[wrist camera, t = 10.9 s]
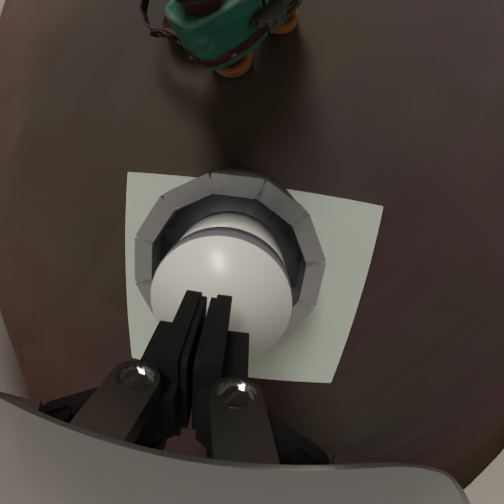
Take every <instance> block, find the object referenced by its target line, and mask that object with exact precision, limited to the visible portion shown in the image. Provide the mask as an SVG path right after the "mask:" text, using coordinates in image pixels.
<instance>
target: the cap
mask: <svg viewBox="0 0 504 504" xmlns="http://www.w3.org/2000/svg"><path fill="white" fill-rule="evenodd" d="M187 290H191V291H198V292H202V296H206V297H207V307H206V315H207V311H208V307H209V304H210V300H211V297H213V298H217V295H218V294H220V295H227V296H232V304H231V313H230V321H229V331H237V332H245V333H249V359H250V358H253V357H255V356H257V355H259V354H261V353H263V352H265V351H266V350H268V349H269V348H270V347H272V346H273V345H274V344H275V343H276V342H277V341H278V340H279V339H280V337H281V336H282V335H283V333H284V332H285V330H286V328H287V326H288V324H289V320H290V317H291V314H292V307H293V295H292V289H291V284H290V280H289V276H288V273H287V270H286V267H285V262H284V258H283V253H282V249H281V246H280V243H279V241H278V239H277V237H276V236H275V234H274V233H273V232H272V231H271V229H270V228H269V227H268V226H267V225H266V224H264V223H263V222H262V221H260V220H259V219H257V218H255V217H253V216H251V215H249V214H246V213H243V212H237V211H220V212H215V213H212V214H209V215H207V216H205V217H203V218H201V219H199V220H198V221H197V222H195V223H194V224H193V225H192V226H191V227H190V228H189V229H188V231H187V232H186V233H185V234H184V235H183V237H182V238H181V239H180V240H179V241H178V242H177V243H176V244H175V245H174V246H173V247H172V248H171V250H170V251H169V252H168V253H167V254H166V256H165V257H164V258H163V260H162V261H161V262H160V264H159V265H158V267H157V269H156V271H155V274H154V276H153V280H152V285H151V306H152V310H153V313H154V316H155V319H156V321H157V323H159V322H160V321H161V320H162V321H168V322H173V320H174V317H175V315H176V313H177V311H178V308H179V306H180V304H181V302H182V299H183V297H184V295H185V293H186V291H187Z"/></svg>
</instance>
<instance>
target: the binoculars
mask: <svg viewBox="0 0 504 504" xmlns="http://www.w3.org/2000/svg"><path fill="white" fill-rule="evenodd" d="M301 2H302V0H170V1H169V2H168V3H167V5H166V7H165V15H166V16H165V18H164V20H163V28H153V27H152V26H150V23H149V20H148V17H147V9H148V3H149V0H140V5H139V10H140V14H141V17H142V20H143V23H144V24H145V25H146V26H147V27H148V28H149V29H151V32H150V36H153V37H157V38H158V37H166V38H168V39H169V40H171V41H172V42H174V43H176V44H180V45H182V47H183V48H184V50H185V51H186V52H187V54H188V55H189V58H190V59H194V60H195V61H196V62H198V63H199V64H200V65H201V66H202V67H204V68H206V69H208V70H215V71H216V72H217V73H218V74H220V75H222V76H224V77H232V78H233V77H238V76H240V75H242V74H244V73H245V72H246V71H247V70H248V69H249V68H250V66H251V63H252V55H251V51H252V50H253V49H254V48H255V47H257V46H258V45H259V44H260V43H261V42H262V41H263V40H264V39H265V38H266V37H267V36H268V32H269V33H274V34H285V33H288V32H290V31H292V30H293V29H294V28H295V27H296V25H297V22H298V14H299V13H298V9H297V8H298V6H299V5H300V4H301Z"/></svg>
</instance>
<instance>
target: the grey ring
mask: <svg viewBox="0 0 504 504" xmlns="http://www.w3.org/2000/svg"><path fill="white" fill-rule="evenodd" d="M220 211H237V212H243V213H246V214H249V215H251V216H253V217H255V218H257V219H259V220H260V221H262V222H263V223H264V224H266V225H267V226H268V227H269V228H270V229H271V231H272V232H273V233H274V234H275V236H276V237H277V239H278V241H279V243H280V246H281V249H282V253H283V258H284V262H285V267H286V270H287V273H288V276H289V280H290V284H291V289H292V295H293V307H292V314H291V317H290V320H289V324H288V326H287V328H286V330H285V332H284V333H283V335H282V336H281V337H280V339H279V340H278V341H281V340H282V337H283V338H286V337H287V336H288V335H289V334H290V333H291V332H292V331H293V330H294V329H295V328H296V327H297V326H298V325H299V324H300V323H301V322H302V321H303V320H304V319H305V318H306V317H307V316H308V315H309V314H310V313H311V312H312V311H313V310H314V306H316V303H317V299H318V295H319V291H320V287H321V283H322V279H323V274H324V270H325V266H326V263H325V261H326V259H325V256H324V254H323V251H322V248H321V245H320V242H319V239H318V236H317V233H316V231H315V228H314V225H313V222H312V219H311V217H310V215H309V213H308V212H307V211H306V209H305V208H304V207H303V206H302V205H301V204H300V203H298V202H297V201H296V200H295V199H294V198H293V196H292V195H291V194H290V193H289V192H288V190H287V189H285V188H284V187H283V186H282V185H281V184H280V183H278V182H277V181H275V180H274V179H272V178H271V177H269V176H267V175H265V174H263V173H260V172H257V171H254V170H249V169H244V168H225V169H219V170H214V171H211V172H209V173H206V174H203V175H201V176H199V177H197V178H195V179H193V180H191V181H189V182H187V183H185V184H183V185H180V186H178V187H176V188H174V189H172V190H170V191H168V192H166V193H164V194H162V196H160V197H159V199H158V200H157V202H156V203H155V205H154V206H153V208H152V210H151V211H150V213H149V214H148V216H147V217H146V219H145V221H144V222H143V224H142V226H141V227H140V229H139V230H138V232H137V234H136V236H137V237H136V238H135V282H137V283H136V285H137V287H138V289H139V291H140V293H141V294H142V296H143V298H144V300H145V301H146V303H147V305H148V306H149V308H150V310H151V312H152V313H153V310H152V306H151V285H152V280H153V276H154V274H155V271H156V269H157V267H158V265H159V264H160V262H161V261H162V260H163V258H164V257H165V256H166V254H167V253H168V252H169V251H170V250H171V248H172V247H173V246H174V245H175V244H176V243H177V242H178V241H179V240H180V239H181V238H182V237H183V235H184V234H185V233H186V232H187V231H188V229H189V228H190V227H191V226H192V225H193V224H194V223H195V222H197V221H198V220H199V219H201V218H203V217H205V216H207V215H209V214H212V213H215V212H220ZM153 315H154V313H153ZM154 317H155V316H154ZM278 341H277V342H278Z"/></svg>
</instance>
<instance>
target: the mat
mask: <svg viewBox="0 0 504 504" xmlns="http://www.w3.org/2000/svg"><path fill="white" fill-rule="evenodd" d="M195 178H196V177H186V176H175V175H164V174H152V173H138V172H128V175H127V193H126V225H125V256H126V289H127V307H128V321H129V333H130V343H131V353H132V358H135V359H140V360H141V357H142V355H143V353H144V351H145V349H146V347H147V345H148V343H149V341H150V339H151V337H152V335H153V333H154V331H155V329H156V327H157V325H158V323H157V321H156V319H155V317H154V315H153V313H152V312H151V310H150V308H149V306H148V305H147V303H146V301H145V300H144V298H143V296H142V294H141V293H140V291H139V289H138V287H137V285H136V283H137V282H135V238H136V237H137V236H136V234H137V232H138V230H139V229H140V227H141V226H142V224H143V222H144V221H145V219H146V217H147V216H148V214H149V213H150V211H151V210H152V208H153V206H154V205H155V203H156V202H157V200H158V199H159V197H160V196H162V194H164V193H166V192H168V191H170V190H172V189H174V188H176V187H178V186H180V185H183V184H185V183H187V182H189V181H191V180H193V179H195ZM287 190H288V192H289V193H290V194H291V195H292V196H293V198H294V199H295V200H296V201H297V202H298V203H300V204H301V205H302V206H303V207H304V208H305V209H306V211H307V212H308V213H309V215H310V217H311V219H312V222H313V225H314V228H315V231H316V233H317V236H318V239H319V242H320V245H321V248H322V251H323V254H324V256H325V259H326V261H325V263H326V266H325V270H324V274H323V279H322V283H321V287H320V291H319V295H318V299H317V303H316V306H314V310H313V311H312V312H311V313H310V314H309V315H308V316H307V317H306V318H305V319H304V320H303V321H302V322H301V323H300V324H299V325H298V326H297V327H296V328H295V329H294V330H293V331H292V332H291V333H290V334H289V335H288V336H287V337H286V338H283V337H282V340H281V341H278V342H276V343H275V344H274V345H273V346H272V347H270V348H269V349H268V350H266V351H265V352H263V353H261V354H259V355H257V356H255V357H253V358H250V359H249V361H248V377H251V378H260V379H271V380H283V381H298V382H317V383H331V381H332V379H333V376H334V374H335V371H336V368H337V366H338V363H339V360H340V358H341V355H342V352H343V349H344V346H345V344H346V341H347V338H348V335H349V332H350V329H351V326H352V323H353V320H354V317H355V313H356V310H357V307H358V304H359V300H360V297H361V294H362V290H363V287H364V283H365V280H366V276H367V273H368V269H369V265H370V262H371V258H372V254H373V250H374V246H375V242H376V238H377V234H378V229H379V225H380V220H381V216H382V211H383V206H380V205H375V204H370V203H365V202H360V201H354V200H349V199H344V198H338V197H332V196H327V195H321V194H315V193H309V192H303V191H296V190H290V189H287Z"/></svg>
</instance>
